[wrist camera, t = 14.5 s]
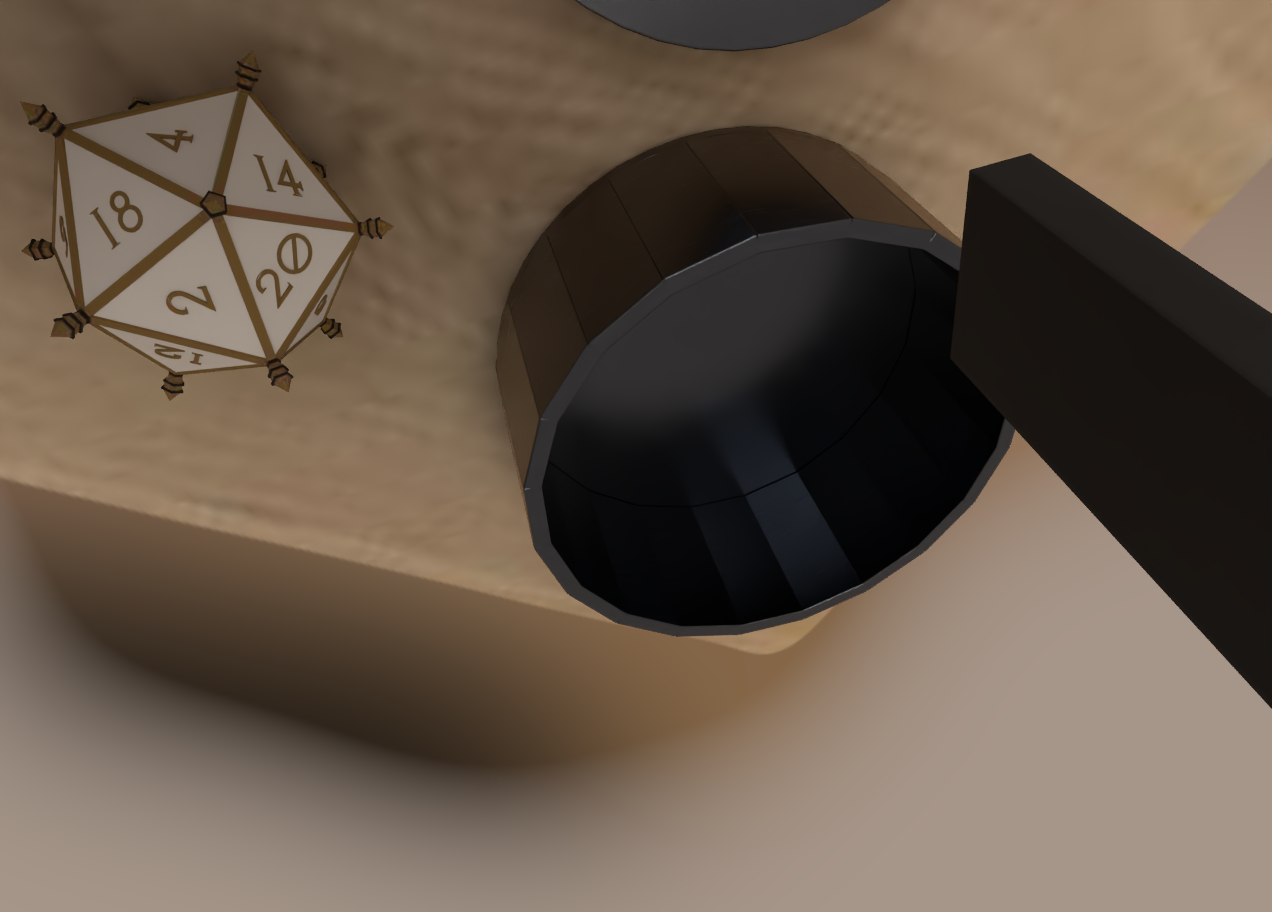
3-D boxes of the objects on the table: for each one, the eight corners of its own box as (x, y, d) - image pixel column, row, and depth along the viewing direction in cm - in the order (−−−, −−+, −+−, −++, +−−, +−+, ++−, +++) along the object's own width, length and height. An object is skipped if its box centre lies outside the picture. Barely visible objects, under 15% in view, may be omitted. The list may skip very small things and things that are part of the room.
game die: (220, 72, 28) (240, -83, 19) (398, 287, 31) (487, 240, 22) (-37, 237, 25) (-153, 145, 16) (186, 457, 28) (190, 481, 19)
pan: (418, 443, 35) (433, 583, 29) (659, 23, 27) (741, 106, 21) (751, 545, 44) (810, 667, 38) (1004, 253, 36) (1124, 353, 30)
